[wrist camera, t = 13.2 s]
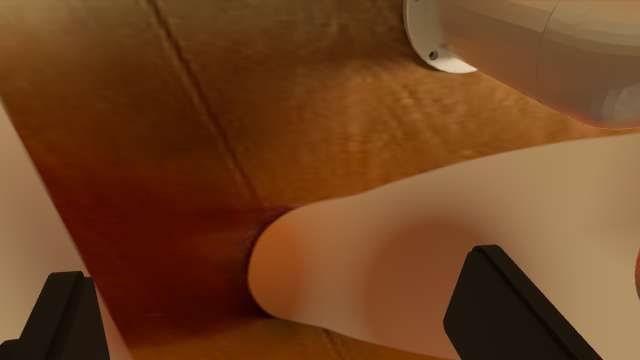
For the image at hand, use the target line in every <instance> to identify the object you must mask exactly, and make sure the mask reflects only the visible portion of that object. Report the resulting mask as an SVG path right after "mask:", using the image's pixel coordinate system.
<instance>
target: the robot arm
mask: <svg viewBox="0 0 640 360" xmlns="http://www.w3.org/2000/svg"><path fill="white" fill-rule="evenodd" d="M403 19H404V27H405V31H406V34H407V37H408V40H409V42H410V44H411V46H412V47H413V49H414V51H415V52H416V53H417V54H418V55H419V56H420V58H421V59H423V60H424V61H425V62H427V63H428V64H429V65H431V66H433V67H435V68H437V69H438V70H441V71H445V72H448V73H459V74H462V73H469V72H474V71H477V70H479V71H481V72H483V73H485V74H487V75H489V76H491V77H493V78H495V79H496V80H498V81H500V82H502V83H504V84H506V85H508V86H510V87H512V88H514V89H515V90H517V91H519V92H521V93H523V94H525V95H527V96H529V97H530V98H532V99H534V100H536V101H538V102H540V103H542V104H544V105H546V106H548V107H550V108H552V109H554V110H556V111H558V112H560V113H561V114H563V115H565V116H567V117H569V118H571V119H573V120H575V121H578V122H580V123H582V124H585V125H588V126H592V127H596V128H603V129H614V130H615V129H629V128H636V127H640V0H404V1H403ZM430 53H431V55H430ZM429 55H430V56H429ZM635 286H636V291H637V294H638V298H639V300H640V249H639V252H638V256H637V259H636V265H635ZM443 324H444V330H445V332H446V334H447V336H448V337H449V339H450V341H451V342H452V344H453V346H454V348H455V349H456V351H457V353H458V355H459V356H460V358H461V360H603V359H602V358H601V357H600V356H599V355H598V354H597V353H596V352H595V350H594V349H593V348H592V347H591V346H590V345H589V344H588V343H587V342H586V341H585V339H584V338H583V337H582V336H581V335H580V334H579V333H578V332H577V331H576V330H575V328H573V326H572V325H571V324H570V323H569V322H568V321H567V320H566V319H565V317H564V316H563V315H562V314H561V313H560V312H559V311H558V310H557V309H556V308H555V306H554V305H553V304H552V303H551V302H550V301H549V300H548V299H547V298H546V297H545V296H544V294H543V293H542V292H541V291H540V290H539V289H538V288H537V287H536V286H535V285H534V283H533V282H532V281H531V280H530V279H529V278H528V277H527V276H526V275H525V274H524V272H523V271H522V270H521V269H520V268H519V267H518V266H517V265H516V264H515V263H514V262H513V260H512V259H511V258H510V257H509V256H508V255H507V254H506V253H505V252H504V251H503V249H502V248H501V247H499V246H498V245H481V246H475V247H474V248H473V249H472V251H471V252H469V253H468V254H467V257H466V259H465V262H464V265H463V268H462V270H461V273H460V276H459V278H458V281H457V284H456V287H455V290H454V292H453V295H452V297H451V300H450V303H449V306H448V308H447V311H446V314H445V317H444V320H443ZM0 360H110V355H109V350H108V346H107V341H106V336H105V332H104V328H103V323H102V318H101V313H100V308H99V304H98V299H97V294H96V290H95V285H94V281H93V278H92V277H84V274H83V272H81V271H71V272H56V273H51V274H50V275H49V276H48V278H47V280H46V282H45V284H44V287H43V289H42V291H41V293H40V295H39V297H38V299H37V302H36V304H35V306H34V308H33V310H32V312H31V314H30V316H29V319H28V321H27V323H26V325H25V327H24V329H23V332H22V334H21V336H20V338H19V339H14V340H7V341H4V342H3V343H2V344H1V345H0Z"/></svg>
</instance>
